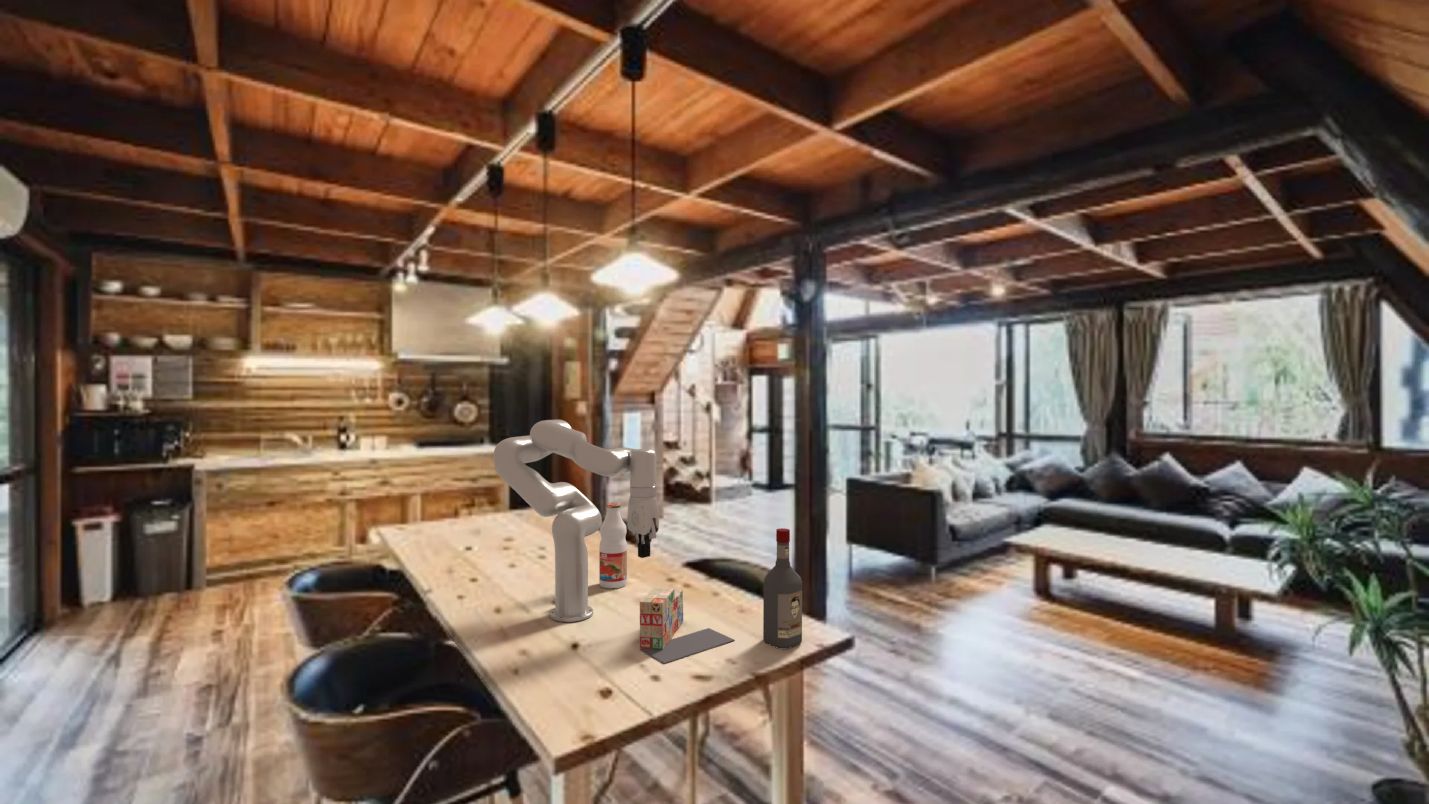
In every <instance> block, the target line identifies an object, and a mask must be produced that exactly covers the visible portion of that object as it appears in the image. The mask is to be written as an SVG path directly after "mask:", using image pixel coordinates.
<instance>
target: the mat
mask: <svg viewBox="0 0 1429 804" xmlns="http://www.w3.org/2000/svg"><path fill="white" fill-rule="evenodd" d="M732 642H736V641H735V639H734V638H731V637H729V636H727V635H726V634H723V633H721V632H719V631H717V630H714V629H712V628H710V627H708V628H705V629H701V630H698V631H694V632H692V633H691V632H690V633H687V634H683V635H681V636H677V637H675V638H671V639H670V641H669V642H668V643H667V645H666V646H665V647H664V648H663V650H661V649H646V648H640V649H639V651H641V652H643V654H646V655H647V656H650V657H651V658H653V659H655V660H656V661H659V662H660V663H662V664H663V665H666V664H669V663H672V662H675V661H678V660H681V659H684V658H688V657H690V656H693V655H696V654H700V653H702V652H705V651H708V650H712V649H714V648H717V647H720V646H723V645H727V644H729V643H732Z"/></svg>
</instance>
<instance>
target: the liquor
mask: <svg viewBox="0 0 1429 804" xmlns="http://www.w3.org/2000/svg"><path fill="white" fill-rule="evenodd" d="M790 532H791V531H790V529H789V528H785V527H784V528H781V527H780V528H776V533H775V535H776V538H775V541H776V558H775V559H776V561H775V565H774V566H773V567H772V568H771V569H770V570H769V571H768V573H767V574H765V576H764V578H763V601H762V602H763V608H762V610H763V617H762V618H763V619H762V620H763V623H762V626H763V627H762V630H763V631H762V634H763V636H762V637H763V638H762V639H763V641H764V643H765V644H767V645H769V644H770V645H769V646H771V647H773V646H774V648H776V647H777V648H776V649H778V648H789V649H791V648H794V647H796V645H797V646H799V645H801V643H802V642H803V580H802V577H801V576H800V575H799V574H798V573H797V571H795V569H794V568H793V567H792V565H791V562H790V541H791V536H790V535H791V533H790ZM798 644H799V645H798ZM790 647H791V648H790Z"/></svg>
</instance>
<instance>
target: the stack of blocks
mask: <svg viewBox="0 0 1429 804" xmlns="http://www.w3.org/2000/svg"><path fill="white" fill-rule="evenodd" d="M683 597H684V596H683V589H675V588H670V587H669V588H667V587H666V588H665V587H653V588H651V590H650V591H648V593H647V594H646V595H645V596H643V598H642V599H641V600H640V601H639V635H640V636H639V648H640V649H641V648H646V649H661V650H663V648H664V647H665V646H666V645H667V643H668V642H669V641H670V640H671V639H673V636H674V635H675V633H676V631H678V629H679V628H680V627H681V625H682V624H683V622H684V600H683Z"/></svg>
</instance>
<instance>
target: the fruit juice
mask: <svg viewBox="0 0 1429 804" xmlns="http://www.w3.org/2000/svg"><path fill="white" fill-rule="evenodd" d="M605 505H606V506H605V508H606V513H605V517H604V520H603V521H602V523H601V526H600V528H599V534H600V537H601V539H600V541H599V549H598V550H599V551H598V552H599V561H598V563H599V564H598V565H599V574H598V575H599V586H600V587H601V588H602V589H603V588H604V589H613V588H614V589H620V588H624V587H625V586H626V585H627V582H628V543H627V540H626V535H627V530H628V528H627V524H626V523H625V522H624V521H623V519H622V516H621V511H620V509H621V503H618V502H610V503H606V504H605Z"/></svg>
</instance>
